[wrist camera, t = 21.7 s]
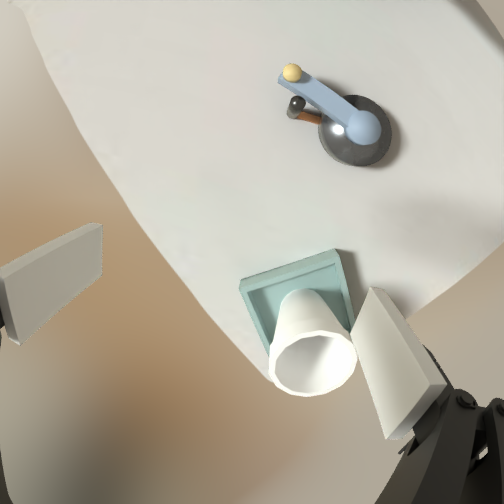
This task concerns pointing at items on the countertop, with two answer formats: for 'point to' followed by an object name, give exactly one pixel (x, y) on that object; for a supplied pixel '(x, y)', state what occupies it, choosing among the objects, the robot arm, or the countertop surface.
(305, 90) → the crank
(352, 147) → the crank base
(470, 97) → the countertop surface
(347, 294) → the tray
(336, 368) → the foam cup
